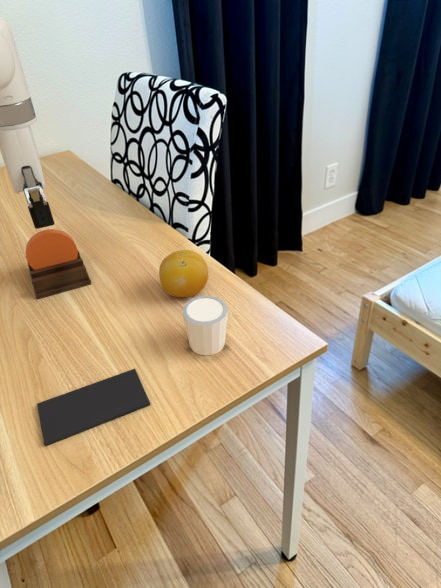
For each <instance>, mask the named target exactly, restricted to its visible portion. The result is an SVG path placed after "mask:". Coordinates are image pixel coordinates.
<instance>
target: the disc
mask: <svg viewBox="0 0 441 588" xmlns="http://www.w3.org/2000/svg"><path fill="white" fill-rule="evenodd" d="M76 246H77V243H76V242H75V240H74V238H73V237H72V236H71V235H70V234H69V233H67V232H65V231H63V230H61V229H55V228H49V229H44V230H40V231H37V232H35V234H33V235H32V236H31V237H30V238H29V240H27V243H26V245H25V258H26V257H27V259H26V261H28V262H27V264H28V263H29V265H30V266H31V267H32V268H33V269H34V270H37V269H41V268H45V267H49V266H53V265H57V264H60V263H64V262H68V261H72V260H76V259H77V256H78V251H79V250H78V247H76Z"/></svg>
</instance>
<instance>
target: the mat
mask: <svg viewBox="0 0 441 588" xmlns="http://www.w3.org/2000/svg"><path fill="white" fill-rule="evenodd" d="M150 406H151V401H150V400H149V397H148V395H147V392H146V390H145V388H144V386H143V384H142V381H141V379H140V377H139V374H138V372H137V370H136V368H133V369H130V370H126V371H124V372H121V373H118V374H115V375H113V376H111V377H107V378H104V379H102V380H99V381H97V382H93V383H90V384H88V385H85V386H82V387H79V388H76V389H73V390H70V391H68V392H65V393H63V394H60V395H56V396H54V397H51V398H49V399H45V400H43V401H40V402H38V403H36V407H37V411H38V417H39V423H40V429H41V434H42V440H43V445H44V447H48V446H50V445H53V444H55V443H58V442H60V441H63V440H66V439H68V438H71V437H74V436H76V435H78V434H81V433H83V432H86V431H89V430H91V429H94V428H97V427H99V426H102V425H104V424H107V423H108V422H109V423H110V422H111V421H114V420H116V419H120V418H122V417H124V416H127V415H129V414H131V413H134V412H137V411H139V410H142V409H145V408H147V407H150Z"/></svg>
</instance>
